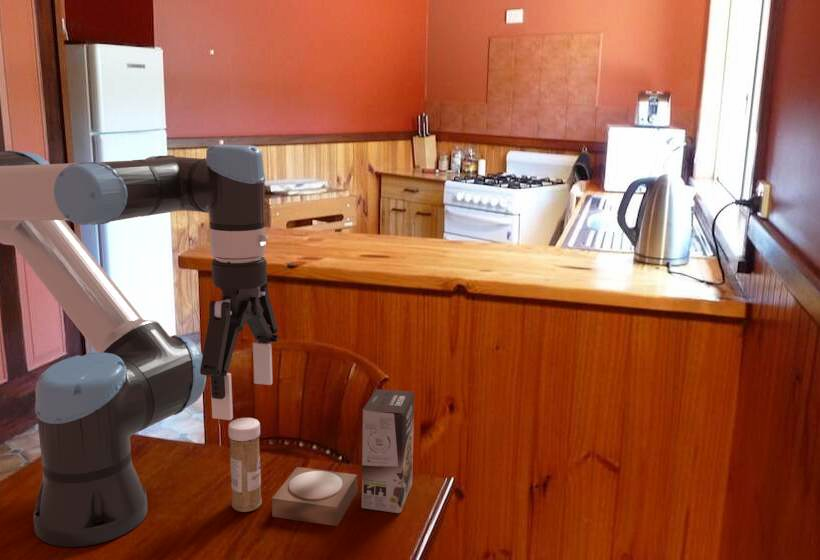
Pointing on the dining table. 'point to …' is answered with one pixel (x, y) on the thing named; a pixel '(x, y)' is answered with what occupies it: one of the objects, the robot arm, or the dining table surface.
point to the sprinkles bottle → (245, 464)
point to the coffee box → (387, 450)
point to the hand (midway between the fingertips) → (244, 400)
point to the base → (315, 496)
